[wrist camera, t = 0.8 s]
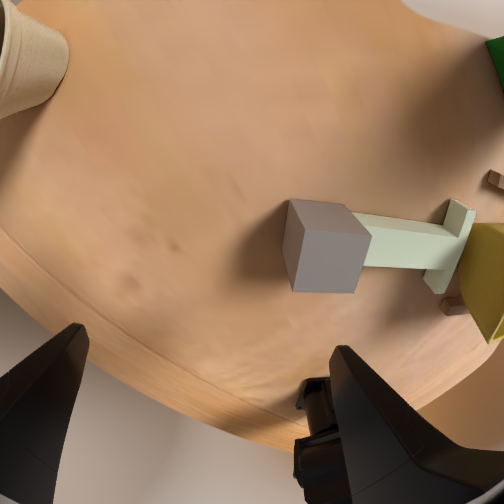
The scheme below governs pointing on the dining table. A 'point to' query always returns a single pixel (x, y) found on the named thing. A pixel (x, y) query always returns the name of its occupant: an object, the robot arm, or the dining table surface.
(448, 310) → the bay
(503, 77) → the milk carton
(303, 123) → the dining table surface
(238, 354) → the dining table surface
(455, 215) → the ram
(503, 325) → the flower pot
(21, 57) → the flower pot
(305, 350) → the dining table surface
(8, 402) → the robot arm
